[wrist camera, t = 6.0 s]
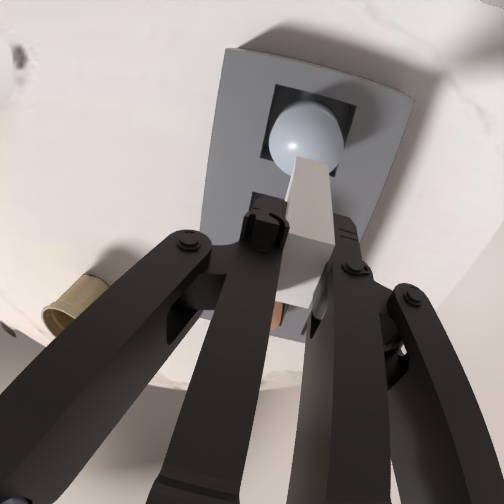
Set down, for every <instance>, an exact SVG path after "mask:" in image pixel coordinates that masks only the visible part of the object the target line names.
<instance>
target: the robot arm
mask: <svg viewBox="0 0 504 504" xmlns="http://www.w3.org/2000/svg"><path fill="white" fill-rule="evenodd" d="M358 241H359V239H358V235H357V228H356V225H355V224H354V222H353V221H352V220H351V218H349V217H346V216H342V215H339V214H335V213H333V211H332V200H331V189H330V180H329V170H328V164H325V163H321V162H317V161H314V160H310V159H306V158H303V157H299V156H296V160H295V164H294V167H293V171H292V175H291V179H290V182H289V186H288V190H287V194H286V197H285V201H283V200H279V199H275V198H271V197H267V196H261V197H260V198H258V199H257V200H255V203H254V206H253V209H252V211H249V212H247V213H246V214H245V215H244V218H243V223H242V228H241V233H240V238H239V241H237V242H235V243H233V244H229V245H212V242H211V240H210V239H209V237H208V236H207V235H205V234H203V233H202V232H199V231H195V230H179V231H176V232H174V233H172V234H170V235H169V236H168V237H166V238H165V239H164V240H163V241H162V242H161V243H159V244H158V245H157V246H156V247H155V248H154V249H152V250H151V251H150V252H149V253H148V254H147V255H145V256H144V257H143V258H142V259H141V260H140V261H138V262H137V263H136V264H135V265H134V266H133V267H132V268H130V269H129V270H128V271H127V272H126V273H125V274H124V275H123V276H121V277H120V278H119V279H118V280H117V281H116V282H115V283H114V284H112V285H111V286H110V287H109V288H108V289H107V290H106V291H105V292H104V293H103V294H101V295H100V296H99V297H98V298H97V299H96V300H95V301H94V302H93V303H92V304H91V305H90V306H88V307H87V308H86V309H85V310H84V311H83V312H82V313H81V314H80V315H79V316H78V317H77V318H76V319H75V320H74V321H73V322H71V323H70V324H69V325H68V326H67V327H66V328H65V329H64V330H63V331H62V332H61V333H60V334H59V335H58V336H57V337H56V338H55V339H54V340H53V341H52V342H51V343H50V344H49V345H48V346H47V347H46V348H45V349H44V350H43V351H42V352H41V353H40V354H39V355H38V356H37V357H36V358H35V359H34V360H33V361H32V362H31V363H30V364H29V365H28V366H27V367H26V368H25V369H24V370H23V371H22V372H21V373H20V374H19V375H18V376H17V377H16V379H15V380H14V381H13V382H12V383H11V384H10V385H9V386H8V387H7V388H6V389H5V390H4V391H3V392H2V393H1V395H0V504H52V503H54V502H55V501H56V500H57V499H58V498H59V497H60V495H62V493H63V492H64V491H65V490H66V489H67V488H68V487H69V485H70V484H71V483H72V481H73V480H74V479H75V478H76V476H77V475H78V474H79V472H80V471H81V470H82V469H83V467H84V466H85V465H86V463H87V462H88V461H89V459H90V458H91V457H92V456H93V454H94V453H95V452H96V450H97V449H98V448H99V446H100V445H101V444H102V443H103V441H104V440H105V439H106V437H107V436H108V435H109V434H110V432H111V431H112V429H113V428H114V427H115V426H116V424H117V423H118V422H119V421H120V419H121V418H122V417H123V415H124V414H125V413H126V412H127V410H128V409H129V408H130V406H131V405H132V404H133V402H134V401H135V400H136V399H137V397H138V396H139V395H140V393H141V392H142V391H143V389H144V388H145V387H146V386H147V384H148V383H149V382H150V380H151V379H152V378H153V377H154V375H155V374H156V373H157V371H158V370H159V369H160V368H161V366H162V365H163V364H164V362H165V361H166V360H167V359H168V357H169V356H170V355H171V353H172V352H173V351H174V349H175V348H176V347H177V346H178V344H179V343H180V342H181V340H182V339H183V338H184V337H185V335H186V334H187V333H188V331H189V330H190V329H191V328H192V326H193V325H194V324H195V322H196V321H197V320H198V318H199V317H200V316H201V315H202V313H203V310H214V313H213V316H212V319H211V322H210V325H209V328H208V331H207V334H206V336H205V339H204V342H203V345H202V348H201V351H200V354H199V357H198V360H197V363H196V366H195V369H194V372H193V375H192V378H191V381H190V384H189V387H188V390H187V393H186V396H185V399H184V402H183V405H182V408H181V411H180V414H179V417H178V420H177V423H176V426H175V429H174V432H173V435H172V438H171V441H170V444H169V448H168V450H167V454H166V457H165V460H164V463H163V466H162V469H161V471H160V473H159V475H158V477H157V478H156V480H155V481H154V483H153V486H152V488H151V490H150V493H149V495H148V498H147V501H146V504H240V502H239V491H240V485H241V480H242V476H243V470H244V466H245V461H246V456H247V451H248V446H249V441H250V436H251V431H252V426H253V421H254V415H255V410H256V405H257V400H258V394H259V389H260V384H261V378H262V373H263V367H264V362H265V356H266V351H267V345H268V339H269V333H270V328H271V322H272V316H273V310H274V304H275V301H278V302H282V303H286V304H290V305H294V306H299V307H303V308H307V309H308V308H309V305H310V303H311V301H312V299H313V303H312V310H311V312H310V314H309V316H308V318H307V321H306V323H305V325H304V327H303V329H302V332H301V335H304V333H305V331H306V342H305V354H304V365H303V376H302V386H301V396H300V405H299V414H298V423H297V431H296V439H295V447H294V455H293V462H292V469H291V476H290V483H289V489H288V496H287V502H286V504H392V503H391V498H390V486H391V485H390V484H391V483H390V482H391V481H390V480H391V461H392V465H393V469H394V473H395V477H396V482H397V486H398V491H399V495H400V500H401V504H504V479H503V475H502V472H501V469H500V465H499V462H498V459H497V455H496V452H495V449H494V447H493V443H492V440H491V437H490V435H489V432H488V429H487V426H486V424H485V421H484V418H483V416H482V413H481V411H480V408H479V405H478V403H477V400H476V398H475V395H474V393H473V390H472V388H471V386H470V383H469V381H468V379H467V376H466V374H465V372H464V370H463V367H462V365H461V363H460V361H459V359H458V356H457V355H456V352H455V350H454V348H453V346H452V344H451V342H450V340H449V338H448V336H447V334H446V332H445V330H444V328H443V326H442V324H441V322H440V320H439V318H438V316H437V314H436V312H435V310H434V308H433V306H432V305H431V303H430V301H429V299H428V298H427V296H426V295H425V293H424V292H422V291H421V290H420V289H419V288H418V287H415V286H414V285H411V284H407V283H401V284H398V285H397V286H396V287H395V288H394V290H393V291H392V290H390V289H388V288H386V287H384V286H382V285H380V284H379V283H377V282H375V281H374V279H373V273H372V271H371V269H370V267H369V266H368V265H367V264H366V263H365V262H364V261H362V257H361V251H360V245H359V242H358ZM403 344H404V346H405V349H406V351H407V353H406V354H405V355H404V354H403V353H402V351H401V347H402V346H403ZM390 460H391V461H390Z"/></svg>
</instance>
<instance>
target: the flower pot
mask: <svg viewBox="0 0 504 504" xmlns="http://www.w3.org/2000/svg"><path fill="white" fill-rule="evenodd" d="M108 288H109V287H108V286H107V285H106V284H105V283H104V282H103V281H102V280H101V279H99V278H97V277H91V276H89V275H83V276H81V277H80V278H79V279H78V280H77V281H76V282H75V283H74V284H73V285H72V286H71V287H70V288H69V289H68V290H67V291H66V292H65V293H64V294H63V295H62V296H61V297H60V298H59V299H58V300H57V301H56V302H53V303H52V304H51V305H50V306H46V307H44V308H43V310H42V312H41V317H42V320H43V323H44V325H45V326H46V328H47V329H48V331H49V332H50V333H51V334H52V335H53V336H54V337H55V338H56V337H57V336H58V335H59V334H60V333H61V332H62V331H63V330H64V329H65V328H66V327H67V326H68V325H69V324H70V323H71V322H73V321H74V320H75V319H76V318H77V317H78V316H79V315H80V314H81V313H82V312H83V311H84V310H85V309H86V308H87V307H88V306H90V305H91V304H92V303H93V302H94V301H95V300H96V299H97V298H98V297H99V296H100V295H101V294H103V293H104V292H105V291H106V290H107V289H108Z"/></svg>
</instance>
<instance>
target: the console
mask: <svg viewBox="0 0 504 504" xmlns="http://www.w3.org/2000/svg"><path fill="white" fill-rule="evenodd" d="M305 99H307V100H314V101H317V102H320V103H322V104H324V105H325V106H327V107H328V108H329V109H330V110H331V111H332V112H333V114H334V115H335V117H336V119H337V122H338V125H339V128H340V131H341V134H342V137H343V142H344V149H343V154H342V157H341V160H340V162H339V163H338V165H337V166H336V167H335V168H334V169H333V170H332V171H331V172H330V173H329V180H330V189H331V200H332V211H333V213H335V214H339V215H342V216H346V217H349V218H351V220H352V221H353V222H354V224H355V225H356V228H357V235H358V239H359V241H358V242H359V243H360V241H361V239H362V236H363V234H364V232H365V230H366V227H367V225H368V223H369V220H370V218H371V216H372V213H373V211H374V208H375V206H376V204H377V201H378V199H379V196H380V194H381V191H382V189H383V186H384V184H385V181H386V179H387V176H388V174H389V171H390V168H391V166H392V163H393V161H394V158H395V155H396V152H397V150H398V147H399V144H400V141H401V139H402V136H403V133H404V130H405V127H406V124H407V121H408V119H409V116H410V113H411V110H412V107H413V103H414V100H415V99H413V98H411V97H409V96H408V95H406V94H404V93H403V92H401V91H398V90H395V89H393V88H390V87H387V86H385V85H382V84H379V83H376V82H373V81H370V80H368V79H365V78H362V77H358V76H355V75H352V74H349V73H346V72H342V71H339V70H336V69H332V68H328V67H325V66H321V65H317V64H314V63H310V62H306V61H301V60H297V59H293V58H289V57H284V56H279V55H274V54H269V53H264V52H259V51H253V50H247V49H241V48H227V49H225V55H224V61H223V66H222V72H221V78H220V84H219V90H218V96H217V102H216V109H215V115H214V122H213V129H212V136H211V143H210V150H209V157H208V165H207V172H206V180H205V188H204V197H203V205H202V214H201V223H200V232H202V233H203V234H205V235H207V236H208V237H209V239H210V240H211V242H212V245H229V244H233V243H235V242H237V241H239V238H240V233H241V228H242V223H243V218H244V215H245V214H246V213H247V212H249V211H252V209H253V206H254V203H255V200H257V199H258V198H260V197H261V196H267V197H271V198H275V199H279V200H283V201H285V197H286V194H287V190H288V186H289V182H290V179H291V176H290V175H288V174H286V173H285V172H284V171H282V170H281V169H280V168H279V167H278V166H277V165H276V163H275V162H274V160H273V158H272V156H271V153H270V150H269V137H270V133H271V131H272V129H273V126H274V124H275V122H276V120H277V117H278V115H279V114H280V112H281V111H282V110H283V109H284V108H285V107H286V106H287V105H289V104H290V103H292V102H295V101H298V100H305ZM312 303H313V299H312V301H311V303H310V305H309V308H308V309H307V308H303V307H299V306H294V305H290V304H286V303H283V307H282V314H281V321H280V324H279V325H278V327H276V328H275V329H274V330H272V331H270V333H269V335H271V336H275V337H280V338H284V339H288V340H293V341H297V342H302V343H305V342H306V331H305V333H304V335H301V332H302V329H303V327H304V325H305V323H306V321H307V318H308V316H309V314H310V312H311V310H312ZM213 313H214V310H203V313H202V315H201V316H200V318H204V319H208V320H211V319H212V316H213Z"/></svg>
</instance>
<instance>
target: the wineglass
mask: <svg viewBox="0 0 504 504" xmlns="http://www.w3.org/2000/svg"><path fill="white" fill-rule="evenodd" d="M480 1H481V2H483V3H487V4H490V5H494V6H497V7H500V8H503V9H504V0H480Z"/></svg>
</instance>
